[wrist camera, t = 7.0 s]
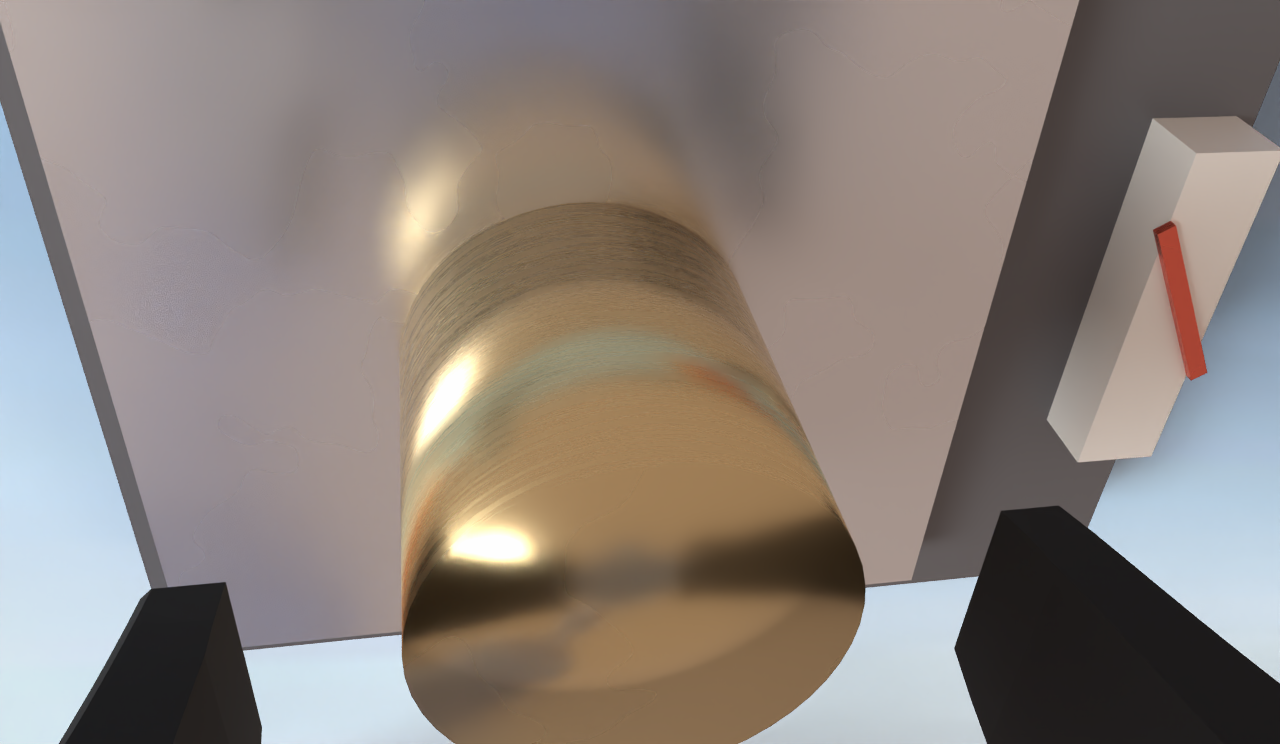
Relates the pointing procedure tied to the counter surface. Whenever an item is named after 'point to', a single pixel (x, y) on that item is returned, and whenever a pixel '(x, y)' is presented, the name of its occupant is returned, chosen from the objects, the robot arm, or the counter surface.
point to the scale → (1019, 267)
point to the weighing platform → (490, 193)
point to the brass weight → (608, 495)
